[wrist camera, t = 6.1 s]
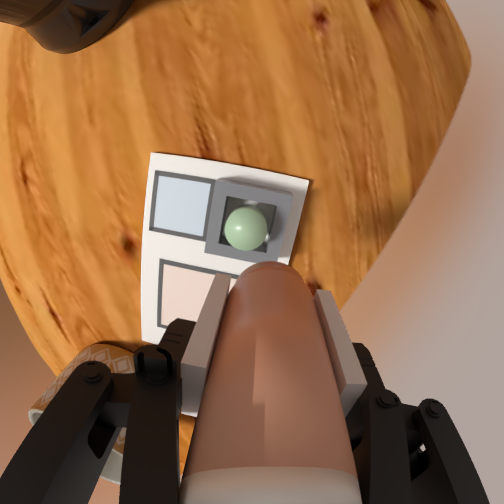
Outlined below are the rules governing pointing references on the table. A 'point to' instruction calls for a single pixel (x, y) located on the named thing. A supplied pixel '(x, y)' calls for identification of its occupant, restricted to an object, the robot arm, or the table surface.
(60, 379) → the planter
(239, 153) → the table surface
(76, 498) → the robot arm
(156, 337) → the sheet
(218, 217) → the button housing
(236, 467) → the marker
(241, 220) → the button
